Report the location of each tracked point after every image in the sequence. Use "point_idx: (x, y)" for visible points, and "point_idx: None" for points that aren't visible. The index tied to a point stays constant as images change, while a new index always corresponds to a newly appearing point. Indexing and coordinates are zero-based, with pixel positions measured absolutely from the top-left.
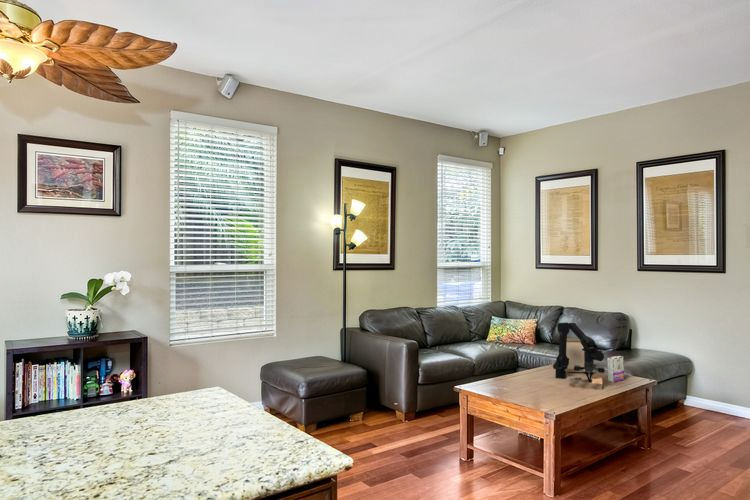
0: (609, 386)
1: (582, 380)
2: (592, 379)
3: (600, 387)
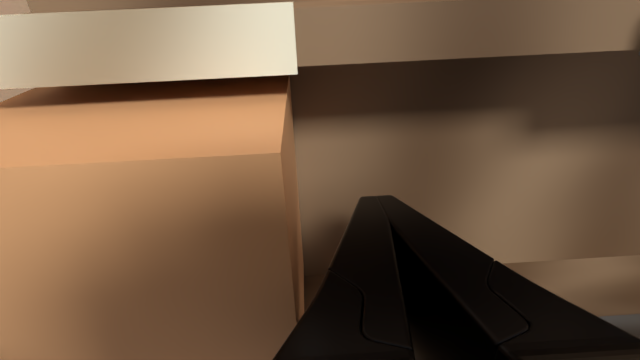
0: None
1: None
2: (273, 139)
3: (69, 10)
